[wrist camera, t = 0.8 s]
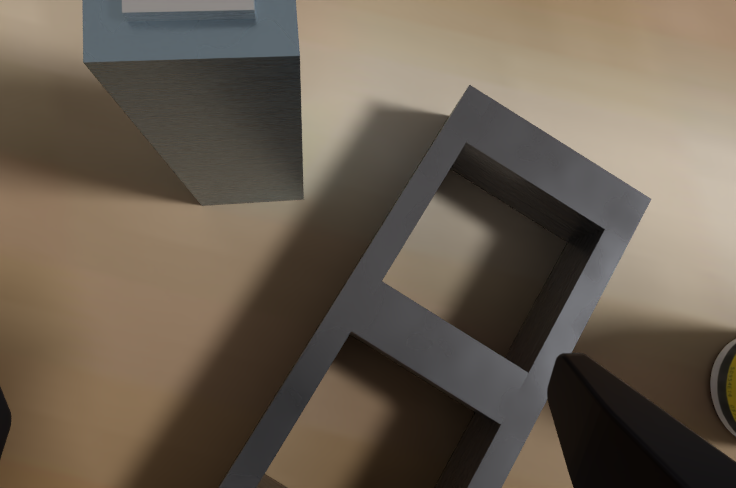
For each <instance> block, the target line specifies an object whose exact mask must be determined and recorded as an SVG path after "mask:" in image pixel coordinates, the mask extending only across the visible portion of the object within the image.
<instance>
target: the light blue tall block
mask: <svg viewBox="0 0 736 488" xmlns="http://www.w3.org/2000/svg"><path fill="white" fill-rule="evenodd" d="M83 62H84V64H85V65H86V66H87V67H88V69H89V70H90V71H91V72H92V73H93V75H94V76H95V77H96V78H97V79H98V81H99V82H100V83H101V84H102V85H103V87H104V88H105V89H106V90H107V92H108V93H109V94H110V95H111V96H112V98H113V99H114V100H115V101H116V102H117V104H118V105H119V106H120V107H121V108H122V110H123V111H124V112H125V113H126V115H127V116H128V117H129V118H130V119H131V121H132V122H133V123H134V124H135V125H136V127H137V128H138V129H139V130H140V131H141V133H142V134H143V135H144V136H145V138H146V139H147V140H148V141H149V142H150V144H151V145H152V146H153V147H154V148H155V150H156V151H157V152H158V153H159V154H160V156H161V157H162V158H163V159H164V160H165V162H166V163H167V164H168V165H169V167H170V168H171V169H172V170H173V171H174V173H175V174H176V175H177V176H178V177H179V179H180V180H181V181H182V182H183V183H184V185H185V186H186V187H187V188H188V190H189V191H190V192H191V193H192V194H193V196H194V197H195V198H196V199H197V200H198V202H199V203H200V204H201V205H202V206H203V205H219V204H236V203H253V202H269V201H286V200H302V199H304V194H303V157H302V120H301V83H300V52H299V39H298V25H297V12H296V0H83Z"/></svg>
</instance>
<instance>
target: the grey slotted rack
mask: <svg viewBox="0 0 736 488" xmlns="http://www.w3.org/2000/svg"><path fill="white" fill-rule="evenodd" d="M450 169H452V170H454V171H455V172H457V173H458V174H460V175H462V176H463V177H465V178H466V179H468V180H469V181H471V182H473V183H474V184H476V185H477V186H479V187H481V188H482V189H484V190H485V191H487V192H489V193H490V194H492V195H493V196H495V197H497V198H498V199H500V200H501V201H503V202H505V203H506V204H508V205H509V206H511V207H513V208H514V209H516V210H517V211H519V212H520V213H522V214H524V215H525V216H527V217H528V218H530V219H532V220H533V221H535V222H536V223H538V224H540V225H541V226H543V227H544V228H546V229H548V230H549V231H551V232H552V233H554V234H556V235H557V236H559V237H560V238H562V239H564V240H565V241H567V242H568V243H567V245H566V247H565V249H564V250H563V252H562V254H561V256H560V258H559V260H558V261H557V263H556V265H555V267H554V269H553V271H552V272H551V274H550V276H549V278H548V280H547V282H546V283H545V285H544V287H543V289H542V291H541V293H540V295H539V296H538V298H537V300H536V302H535V304H534V306H533V307H532V309H531V311H530V313H529V315H528V317H527V318H526V320H525V322H524V324H523V326H522V328H521V329H520V331H519V333H518V335H517V337H516V339H515V340H514V342H513V344H512V346H511V348H510V350H509V351H508V353H507V355H506V357H505V358H504V357H502V356H501V355H499V354H497V353H496V352H494V351H493V350H491V349H489V348H488V347H486V346H485V345H483V344H481V343H480V342H478V341H477V340H475V339H473V338H472V337H470V336H469V335H467V334H465V333H464V332H462V331H461V330H459V329H457V328H456V327H454V326H453V325H451V324H449V323H448V322H446V321H445V320H443V319H441V318H440V317H438V316H437V315H435V314H433V313H432V312H430V311H429V310H427V309H425V308H424V307H422V306H421V305H419V304H417V303H416V302H414V301H413V300H411V299H409V298H408V297H406V296H405V295H403V294H401V293H400V292H398V291H397V290H395V289H393V288H392V287H390V286H389V285H387V284H385V283H384V282H382V280H383V278H384V277H385V275H386V273H387V272H388V270H389V268H390V267H391V265H392V263H393V262H394V260H395V258H396V257H397V255H398V254H399V252H400V250H401V249H402V247H403V245H404V244H405V242H406V240H407V239H408V237H409V235H410V234H411V232H412V231H413V229H414V227H415V226H416V224H417V222H418V221H419V219H420V217H421V216H422V214H423V212H424V211H425V209H426V208H427V206H428V204H429V203H430V201H431V199H432V198H433V196H434V194H435V193H436V191H437V189H438V188H439V186H440V185H441V183H442V181H443V180H444V178H445V176H446V175H447V173H448V171H449V170H450ZM650 201H651V199H650V198H649V197H647V196H646V195H644V194H643V193H641V192H639V191H638V190H636V189H635V188H633V187H631V186H630V185H628V184H627V183H625V182H623V181H622V180H620V179H619V178H617V177H615V176H614V175H612V174H611V173H609V172H608V171H606V170H604V169H603V168H601V167H600V166H598V165H596V164H595V163H593V162H592V161H590V160H588V159H587V158H585V157H584V156H582V155H580V154H579V153H577V152H576V151H574V150H573V149H571V148H569V147H568V146H566V145H565V144H563V143H561V142H560V141H558V140H557V139H555V138H553V137H552V136H550V135H549V134H547V133H546V132H544V131H542V130H541V129H539V128H538V127H536V126H534V125H533V124H531V123H530V122H528V121H526V120H525V119H523V118H522V117H520V116H518V115H517V114H515V113H514V112H512V111H511V110H509V109H507V108H506V107H504V106H503V105H501V104H499V103H498V102H496V101H495V100H493V99H491V98H490V97H488V96H487V95H485V94H483V93H482V92H480V91H479V90H477V89H476V88H474V87H472V86H471V85H469V87H468V88H467V90H466V91H465V93H464V94H463V96H462V97H461V99H460V100H459V102H458V103H457V105H456V107H455V108H454V110H453V111H452V113H451V114H450V116H449V117H448V119H447V121H446V122H445V124H444V125H443V127H442V129H441V130H440V132H439V133H438V135H437V137H436V138H435V140H434V141H433V143H432V145H431V146H430V148H429V149H428V151H427V153H426V154H425V156H424V157H423V159H422V161H421V162H420V164H419V165H418V167H417V169H416V170H415V172H414V174H413V175H412V177H411V178H410V180H409V182H408V183H407V185H406V186H405V188H404V190H403V191H402V193H401V194H400V196H399V198H398V199H397V201H396V202H395V204H394V206H393V207H392V209H391V210H390V212H389V214H388V215H387V217H386V219H385V220H384V222H383V223H382V225H381V227H380V228H379V230H378V231H377V233H376V235H375V236H374V238H373V239H372V241H371V243H370V244H369V246H368V247H367V249H366V251H365V252H364V254H363V255H362V257H361V259H360V260H359V262H358V263H357V265H356V267H355V268H354V270H353V272H352V273H351V275H350V276H349V278H348V280H347V281H346V283H345V284H344V286H343V288H342V289H341V291H340V292H339V294H338V296H337V297H336V299H335V300H334V302H333V304H332V305H331V307H330V308H329V310H328V312H327V313H326V315H325V317H324V318H323V320H322V321H321V323H320V325H319V326H318V328H317V329H316V331H315V333H314V334H313V336H312V337H311V339H310V341H309V342H308V344H307V345H306V347H305V349H304V350H303V352H302V353H301V355H300V357H299V358H298V360H297V361H296V363H295V365H294V366H293V368H292V370H291V371H290V373H289V374H288V376H287V378H286V379H285V381H284V382H283V384H282V386H281V387H280V389H279V390H278V392H277V394H276V395H275V397H274V398H273V400H272V402H271V403H270V405H269V406H268V408H267V410H266V411H265V413H264V415H263V416H262V418H261V419H260V421H259V423H258V424H257V426H256V427H255V429H254V431H253V432H252V434H251V435H250V437H249V439H248V440H247V442H246V443H245V445H244V447H243V448H242V450H241V451H240V453H239V455H238V456H237V458H236V459H235V461H234V463H233V464H232V466H231V468H230V469H229V471H228V472H227V474H226V476H225V477H224V479H223V480H222V482H221V484H220V485H219V487H218V488H287V487H285V486H284V485H282V484H280V483H279V482H277V481H275V480H274V479H272V478H271V477H269V476H267V475H266V474H265V472H266V470H267V469H268V467H269V465H270V464H271V462H272V461H273V459H274V457H275V456H276V454H277V452H278V451H279V449H280V447H281V446H282V444H283V442H284V441H285V439H286V438H287V436H288V434H289V433H290V431H291V429H292V428H293V426H294V424H295V423H296V421H297V419H298V418H299V416H300V415H301V413H302V411H303V410H304V408H305V406H306V405H307V403H308V401H309V400H310V398H311V396H312V395H313V393H314V392H315V390H316V388H317V387H318V385H319V383H320V382H321V380H322V378H323V377H324V375H325V373H326V372H327V370H328V369H329V367H330V365H331V364H332V362H333V360H334V359H335V357H336V355H337V354H338V352H339V350H340V349H341V347H342V346H343V344H344V342H345V341H346V339H347V337H348V336H349V334H350V335H352V336H354V337H355V338H357V339H358V340H360V341H362V342H363V343H365V344H366V345H368V346H370V347H371V348H373V349H374V350H376V351H378V352H379V353H381V354H382V355H384V356H386V357H387V358H389V359H390V360H392V361H394V362H395V363H397V364H398V365H400V366H402V367H403V368H405V369H406V370H408V371H410V372H411V373H413V374H414V375H416V376H418V377H419V378H421V379H422V380H424V381H426V382H427V383H429V384H430V385H432V386H434V387H435V388H437V389H439V390H440V391H442V392H443V393H445V394H447V395H448V396H450V397H451V398H453V399H455V400H456V401H458V402H459V403H461V404H463V405H464V406H466V407H467V408H469V409H471V410H472V411H474V412H475V414H474V416H473V418H472V420H471V421H470V423H469V425H468V427H467V429H466V431H465V432H464V434H463V436H462V438H461V440H460V442H459V443H458V445H457V447H456V449H455V451H454V453H453V454H452V456H451V458H450V460H449V462H448V464H447V465H446V467H445V469H444V471H443V473H442V475H441V476H440V478H439V480H438V482H437V484H436V486H435V488H501V487H502V486H503V484H504V482H505V480H506V478H507V476H508V474H509V472H510V470H511V468H512V466H513V464H514V462H515V460H516V459H517V457H518V455H519V453H520V451H521V449H522V447H523V445H524V443H525V441H526V439H527V437H528V435H529V434H530V432H531V430H532V428H533V426H534V424H535V422H536V420H537V418H538V416H539V414H540V412H541V410H542V409H543V407H544V405H545V403H546V401H547V399H548V398H547V388H548V384H549V381H550V377H551V374H552V370H553V367H554V364H555V360H556V358H557V357H558V355H560V354H562V353H572V351H573V349H574V347H575V345H576V343H577V341H578V339H579V337H580V335H581V334H582V332H583V330H584V328H585V326H586V324H587V322H588V320H589V318H590V316H591V314H592V312H593V310H594V309H595V307H596V305H597V303H598V301H599V299H600V297H601V295H602V293H603V291H604V289H605V287H606V285H607V283H608V282H609V280H610V278H611V276H612V274H613V272H614V270H615V268H616V266H617V264H618V262H619V260H620V258H621V257H622V255H623V253H624V251H625V249H626V247H627V245H628V243H629V241H630V239H631V237H632V235H633V233H634V232H635V230H636V228H637V226H638V224H639V222H640V220H641V218H642V216H643V214H644V212H645V210H646V208H647V207H648V205H649V203H650Z"/></svg>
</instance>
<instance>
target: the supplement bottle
mask: <svg viewBox="0 0 736 488" xmlns="http://www.w3.org/2000/svg"><path fill="white" fill-rule="evenodd" d="M710 386H711V396H712V400H713V404H714V407H715V409H716V412H717V414H718V416H719V418H720V420H721V421H722V422H723V424H724V425H725V427H726V428H727V429H728V430H729V431H730V432H731V433H732V434H733V435H734V436H735V437H736V339H734V340H733V341H731V342H730V343H728V344H727V345H726V346H725V347H724V348H723V349H722V351H721V352H720V353H719V355H718V357H717V358H716V360H715V363H714V365H713V368H712V372H711V380H710Z"/></svg>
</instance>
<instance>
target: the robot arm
mask: <svg viewBox="0 0 736 488" xmlns="http://www.w3.org/2000/svg"><path fill="white" fill-rule="evenodd" d="M547 398H548V403H549V406H550V410H551V413H552V417H553V420H554V424H555V427H556V431H557V434H558V437H559V441H560V444H561V448H562V451H563V455H564V458H565V462H566V465H567V469H568V472H569V475H570V478H571V481H572V484H573V487H574V488H736V462H735V461H734V460H732V459H731V458H730V457H728V456H727V455H725V454H724V453H723V452H721V451H720V450H718V449H717V448H716V447H714V446H713V445H711V444H710V443H709V442H707V441H706V440H704V439H703V438H702V437H700V436H699V435H697V434H696V433H695V432H693V431H692V430H690V429H689V428H688V427H686V426H685V425H684V424H682V423H681V422H679V421H678V420H677V419H675V418H674V417H672V416H671V415H670V414H668V413H667V412H665V411H664V410H663V409H661V408H660V407H658V406H657V405H656V404H654V403H653V402H651V401H650V400H649V399H647V398H646V397H644V396H643V395H642V394H640V393H639V392H637V391H636V390H635V389H633V388H632V387H630V386H629V385H628V384H626V383H625V382H623V381H622V380H621V379H619V378H618V377H616V376H615V375H614V374H612V373H611V372H609V371H608V370H607V369H605V368H604V367H602V366H601V365H600V364H598V363H597V362H595V361H594V360H593V359H591V358H590V357H588V356H587V355H585V354H583V353H562V354H560V355H558V357H557V358H556V360H555V364H554V367H553V370H552V374H551V377H550V381H549V384H548V388H547ZM10 426H11V412H10V409H9V407H8V404H7V402H6V399H5V397H4V394H3V392H2V389H1V387H0V458H1V455H2V452H3V449H4V446H5V443H6V439H7V436H8V433H9V430H10Z"/></svg>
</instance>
